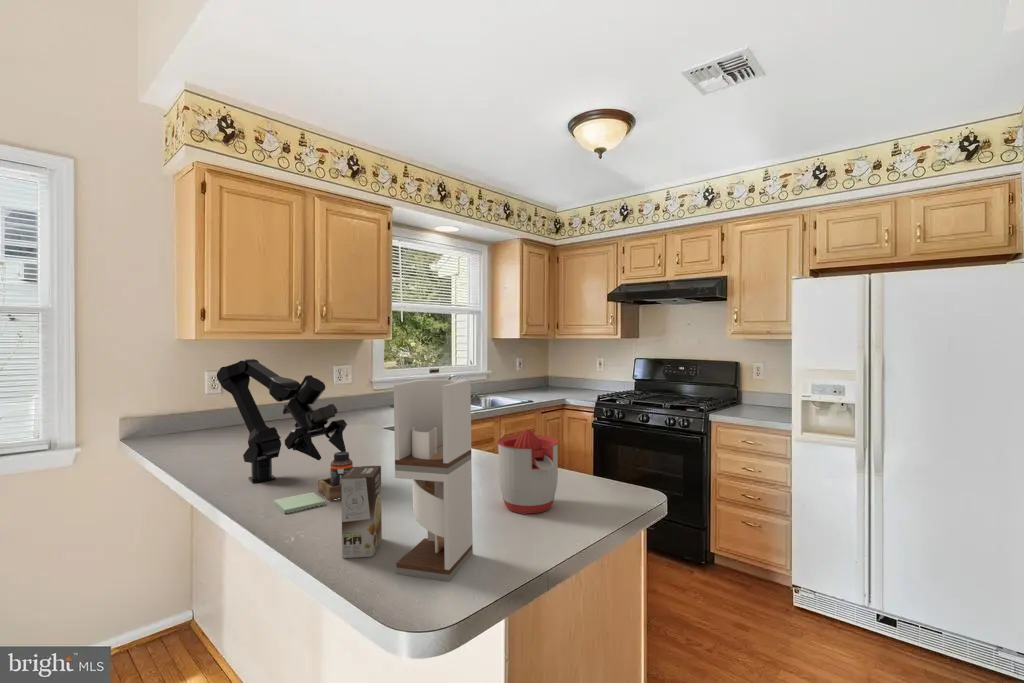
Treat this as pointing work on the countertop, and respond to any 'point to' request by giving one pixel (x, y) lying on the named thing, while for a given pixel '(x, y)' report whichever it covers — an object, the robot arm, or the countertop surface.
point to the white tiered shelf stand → (436, 472)
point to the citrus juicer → (528, 471)
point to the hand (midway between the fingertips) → (332, 455)
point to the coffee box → (361, 511)
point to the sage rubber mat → (298, 502)
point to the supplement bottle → (340, 467)
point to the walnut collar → (329, 489)
